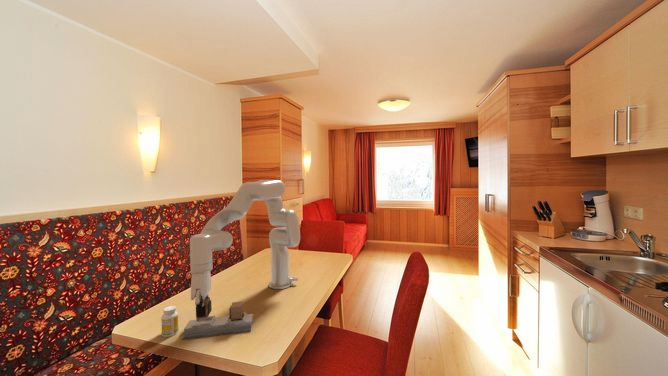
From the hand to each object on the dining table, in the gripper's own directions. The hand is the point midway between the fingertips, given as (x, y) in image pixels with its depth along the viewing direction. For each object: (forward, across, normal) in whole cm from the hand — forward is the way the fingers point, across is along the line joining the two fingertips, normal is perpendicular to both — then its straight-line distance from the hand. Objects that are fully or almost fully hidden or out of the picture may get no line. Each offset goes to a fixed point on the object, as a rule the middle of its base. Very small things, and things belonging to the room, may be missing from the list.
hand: (202, 312), depth 100 cm
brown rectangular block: (+1, 0, 0) cm, 1 cm away
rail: (+7, 0, +6) cm, 9 cm away
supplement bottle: (+7, 0, -12) cm, 14 cm away
